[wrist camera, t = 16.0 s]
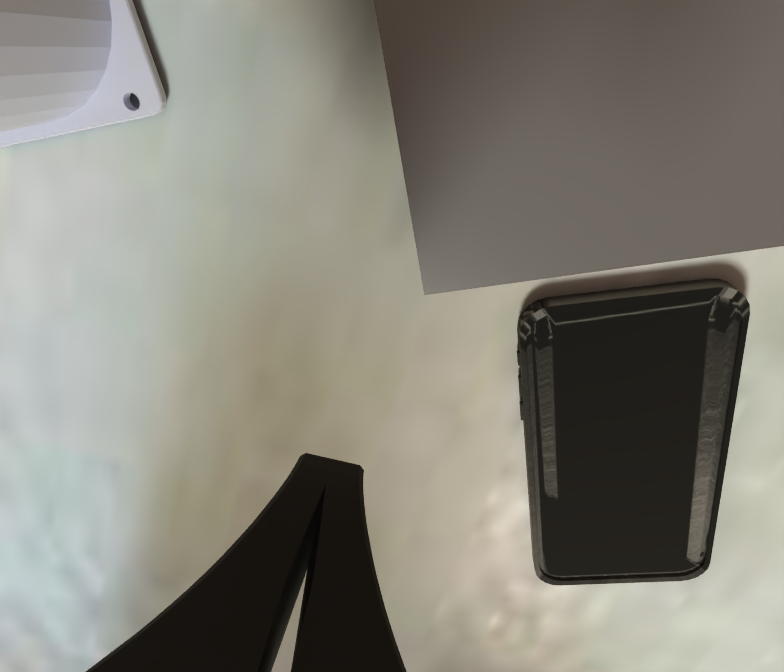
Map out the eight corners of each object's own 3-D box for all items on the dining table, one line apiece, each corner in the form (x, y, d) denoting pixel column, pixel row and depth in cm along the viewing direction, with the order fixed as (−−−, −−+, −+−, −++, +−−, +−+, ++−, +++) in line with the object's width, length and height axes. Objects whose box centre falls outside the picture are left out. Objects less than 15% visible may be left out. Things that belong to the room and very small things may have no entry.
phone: (754, 282, 18) (707, 580, 24) (738, 270, 19) (697, 560, 25) (514, 310, 19) (533, 587, 26) (511, 297, 20) (530, 567, 27)
